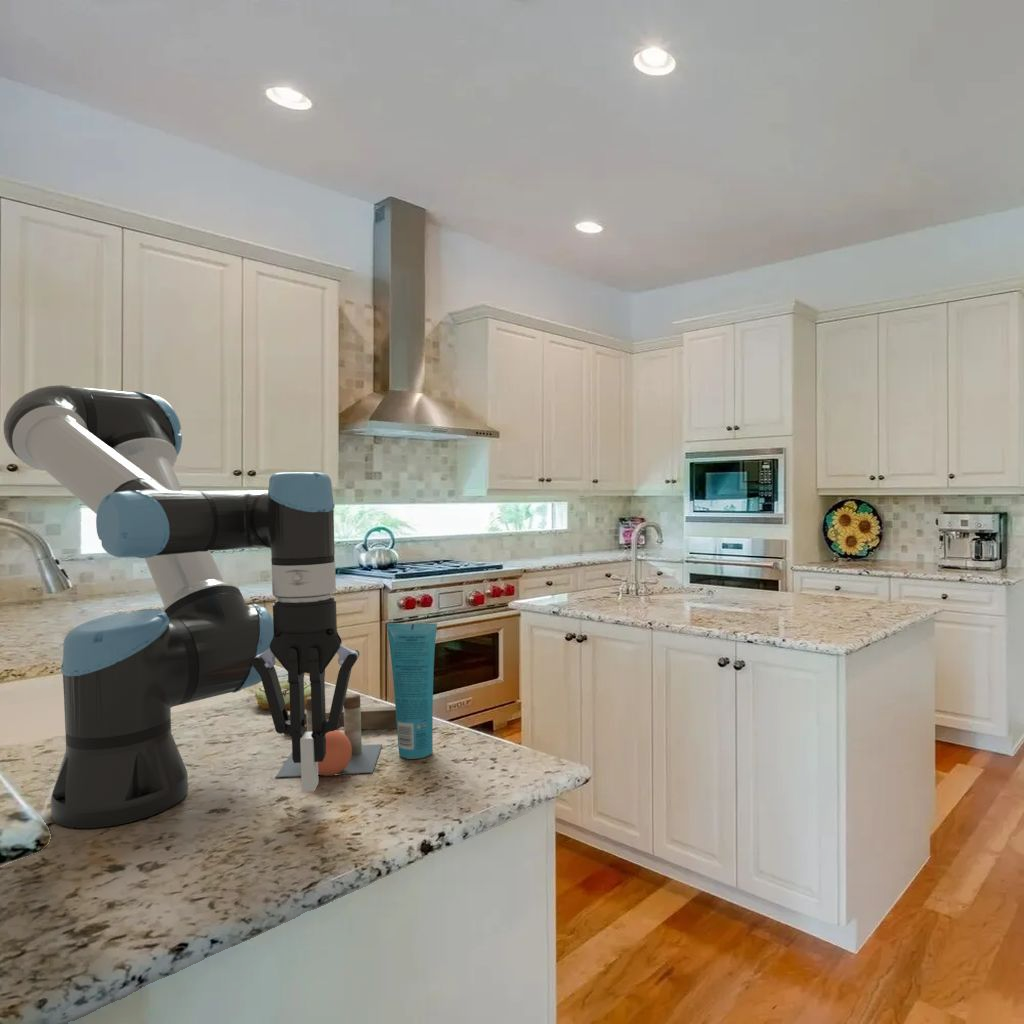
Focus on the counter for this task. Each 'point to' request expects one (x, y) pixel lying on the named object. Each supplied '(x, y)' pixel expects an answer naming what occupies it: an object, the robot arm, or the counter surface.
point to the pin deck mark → (356, 765)
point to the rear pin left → (353, 722)
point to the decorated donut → (284, 686)
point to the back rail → (369, 718)
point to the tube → (413, 686)
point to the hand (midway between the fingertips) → (310, 787)
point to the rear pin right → (309, 714)
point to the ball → (335, 754)
